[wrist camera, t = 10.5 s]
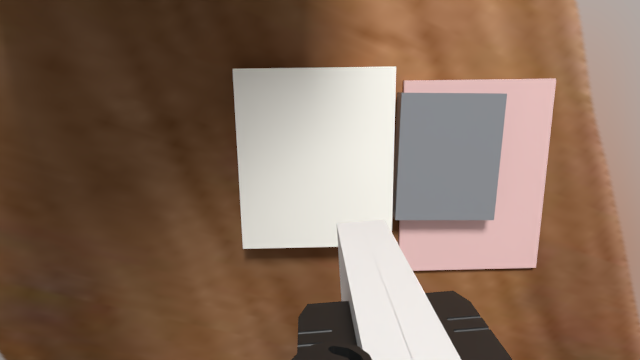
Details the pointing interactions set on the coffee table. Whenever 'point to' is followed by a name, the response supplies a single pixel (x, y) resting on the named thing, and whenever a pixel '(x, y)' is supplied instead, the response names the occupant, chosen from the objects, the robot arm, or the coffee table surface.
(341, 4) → the coffee table surface
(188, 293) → the coffee table surface
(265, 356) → the coffee table surface
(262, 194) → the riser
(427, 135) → the coaster
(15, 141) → the coffee table surface
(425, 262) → the felt mat
